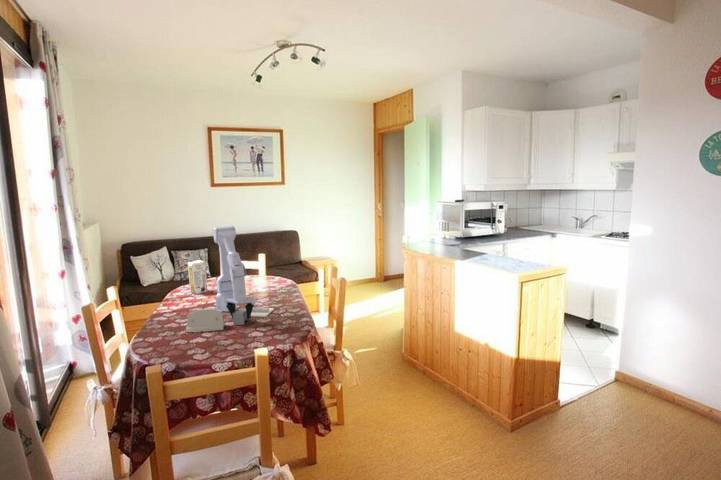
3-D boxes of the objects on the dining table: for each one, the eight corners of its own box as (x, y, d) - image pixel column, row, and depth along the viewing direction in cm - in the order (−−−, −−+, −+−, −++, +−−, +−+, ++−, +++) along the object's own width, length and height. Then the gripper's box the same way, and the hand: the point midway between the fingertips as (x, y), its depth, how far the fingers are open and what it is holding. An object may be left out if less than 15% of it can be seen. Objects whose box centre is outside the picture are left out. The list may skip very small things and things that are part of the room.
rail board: (239, 316, 202) (238, 311, 201) (248, 308, 212) (248, 304, 212) (265, 317, 199) (265, 312, 199) (274, 309, 210) (273, 305, 210)
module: (233, 324, 190) (232, 313, 190) (240, 319, 197) (239, 308, 196) (243, 324, 190) (242, 313, 189) (249, 319, 196) (249, 308, 196)
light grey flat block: (185, 333, 182) (184, 310, 183) (187, 332, 186) (187, 310, 188) (224, 329, 185) (223, 307, 186) (225, 329, 189) (225, 307, 191)
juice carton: (209, 291, 247) (206, 260, 244) (196, 295, 240) (193, 263, 237) (201, 289, 251) (198, 259, 248) (189, 293, 244) (185, 262, 241)
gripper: (220, 292, 188) (223, 320, 190) (250, 293, 186) (252, 321, 188) (227, 288, 195) (230, 315, 197) (256, 289, 193) (258, 316, 195)
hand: (241, 318), depth 193 cm, fingers open, 7 cm apart
